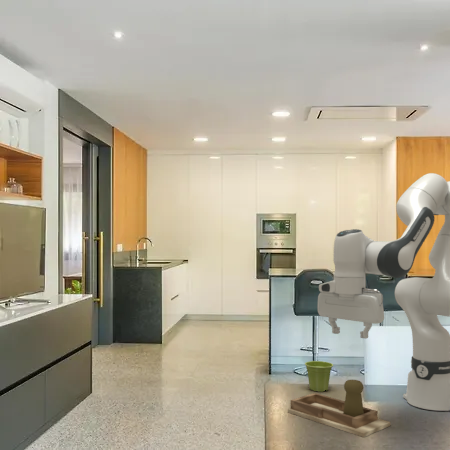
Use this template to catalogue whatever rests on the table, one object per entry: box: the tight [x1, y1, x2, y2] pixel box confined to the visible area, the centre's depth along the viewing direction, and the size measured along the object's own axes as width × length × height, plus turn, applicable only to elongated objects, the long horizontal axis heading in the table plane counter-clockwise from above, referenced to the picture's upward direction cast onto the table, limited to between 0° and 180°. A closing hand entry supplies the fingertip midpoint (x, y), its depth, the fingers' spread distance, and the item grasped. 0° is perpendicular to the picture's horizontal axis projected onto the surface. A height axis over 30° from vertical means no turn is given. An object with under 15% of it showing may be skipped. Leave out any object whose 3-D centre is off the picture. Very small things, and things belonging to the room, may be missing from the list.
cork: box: [343, 379, 364, 417], centre depth 151 cm, size 6×6×11 cm
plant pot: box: [304, 360, 334, 393], centre depth 185 cm, size 9×9×9 cm
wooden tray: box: [287, 392, 392, 438], centre depth 155 cm, size 13×26×4 cm, turn 42°
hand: (349, 335), depth 154 cm, fingers open, 8 cm apart
